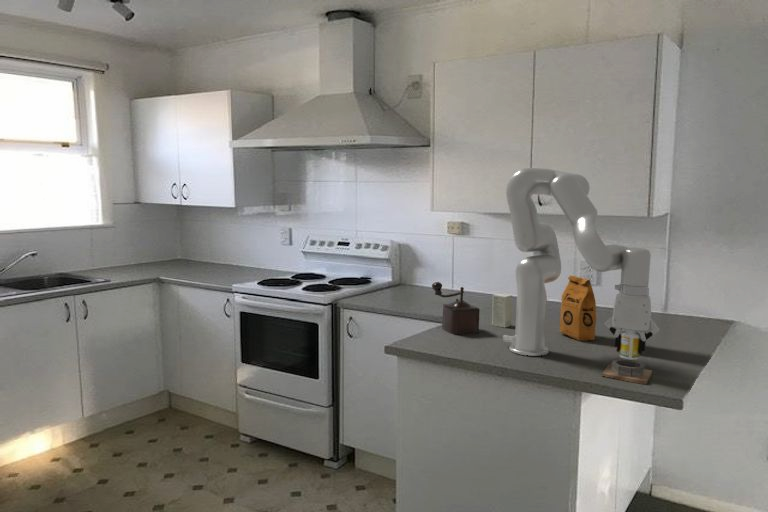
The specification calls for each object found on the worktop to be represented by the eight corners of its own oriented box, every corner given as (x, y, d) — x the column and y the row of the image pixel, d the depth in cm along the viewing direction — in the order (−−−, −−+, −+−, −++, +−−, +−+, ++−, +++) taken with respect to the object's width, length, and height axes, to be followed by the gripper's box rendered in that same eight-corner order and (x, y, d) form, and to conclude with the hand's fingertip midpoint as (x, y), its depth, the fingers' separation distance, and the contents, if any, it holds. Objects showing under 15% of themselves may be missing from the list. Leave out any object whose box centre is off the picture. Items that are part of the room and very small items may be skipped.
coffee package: (575, 342, 217) (579, 280, 215) (555, 333, 229) (559, 275, 226) (599, 340, 220) (603, 280, 218) (578, 332, 232) (582, 274, 229)
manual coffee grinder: (464, 326, 237) (467, 279, 234) (479, 333, 226) (481, 285, 224) (428, 328, 231) (430, 281, 229) (441, 336, 221) (443, 286, 219)
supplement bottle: (620, 359, 179) (622, 326, 178) (618, 354, 184) (620, 322, 183) (640, 360, 178) (642, 328, 176) (638, 356, 183) (640, 324, 181)
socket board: (601, 376, 179) (602, 365, 179) (609, 366, 190) (610, 355, 189) (646, 384, 174) (647, 372, 173) (651, 373, 184) (652, 362, 183)
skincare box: (510, 326, 239) (512, 295, 237) (504, 328, 236) (506, 296, 234) (497, 323, 243) (498, 292, 241) (490, 325, 240) (492, 294, 238)
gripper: (600, 289, 180) (596, 350, 182) (664, 295, 171) (659, 359, 173) (605, 285, 186) (601, 344, 188) (667, 292, 177) (662, 353, 180)
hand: (629, 351), depth 181 cm, fingers closed on supplement bottle, 5 cm apart
